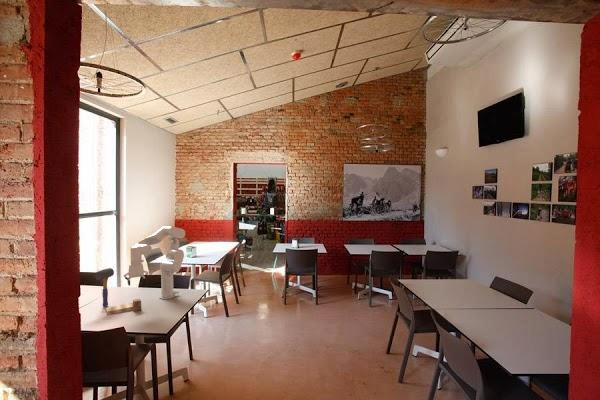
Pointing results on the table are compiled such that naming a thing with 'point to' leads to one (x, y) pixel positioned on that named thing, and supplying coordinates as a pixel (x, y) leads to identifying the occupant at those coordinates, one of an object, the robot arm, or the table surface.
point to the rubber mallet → (104, 282)
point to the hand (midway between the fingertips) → (136, 284)
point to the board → (119, 308)
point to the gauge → (136, 305)
